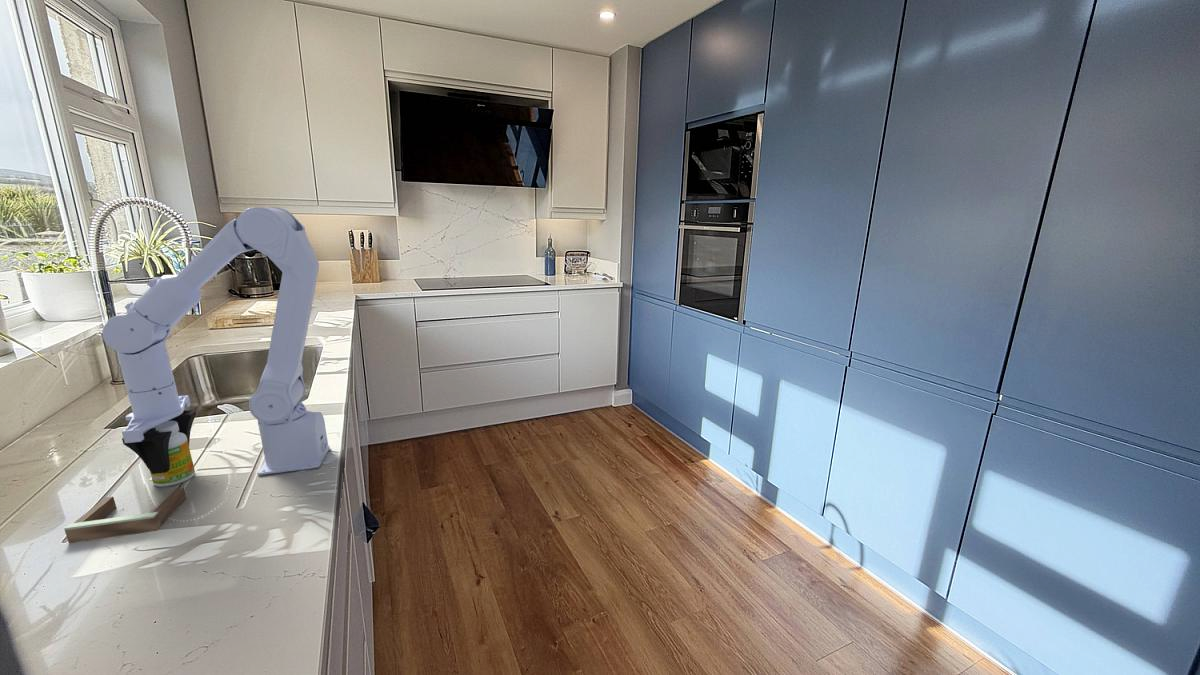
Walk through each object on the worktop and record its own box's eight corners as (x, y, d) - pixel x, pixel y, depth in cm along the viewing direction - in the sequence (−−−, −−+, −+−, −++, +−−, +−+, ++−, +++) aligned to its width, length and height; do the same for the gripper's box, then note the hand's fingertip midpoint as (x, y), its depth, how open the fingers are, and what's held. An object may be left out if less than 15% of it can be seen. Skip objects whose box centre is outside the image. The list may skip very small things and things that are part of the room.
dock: (186, 498, 76) (183, 485, 76) (157, 530, 69) (153, 515, 68) (108, 509, 74) (104, 495, 73) (68, 542, 66) (64, 528, 66)
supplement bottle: (171, 489, 79) (157, 434, 76) (144, 485, 80) (129, 431, 77) (203, 472, 84) (191, 420, 81) (178, 469, 85) (165, 417, 82)
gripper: (148, 374, 83) (166, 446, 87) (87, 405, 70) (112, 490, 73) (197, 370, 85) (213, 441, 89) (147, 400, 72) (168, 483, 75)
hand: (171, 463), depth 81 cm, fingers closed on supplement bottle, 5 cm apart
